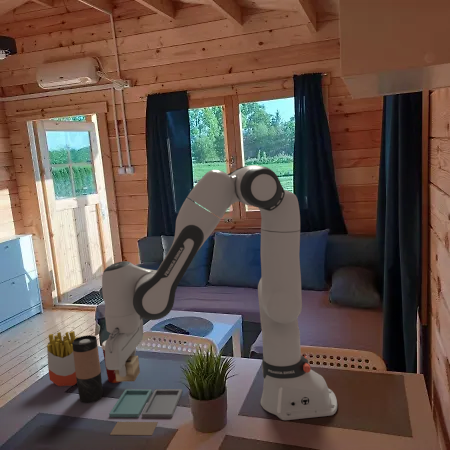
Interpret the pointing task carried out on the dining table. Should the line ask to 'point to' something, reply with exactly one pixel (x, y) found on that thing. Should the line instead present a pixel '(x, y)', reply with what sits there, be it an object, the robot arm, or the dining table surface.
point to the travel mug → (87, 368)
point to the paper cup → (110, 373)
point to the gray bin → (162, 403)
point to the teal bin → (131, 403)
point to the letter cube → (130, 369)
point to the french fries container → (61, 359)
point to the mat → (134, 428)
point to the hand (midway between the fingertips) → (127, 369)
